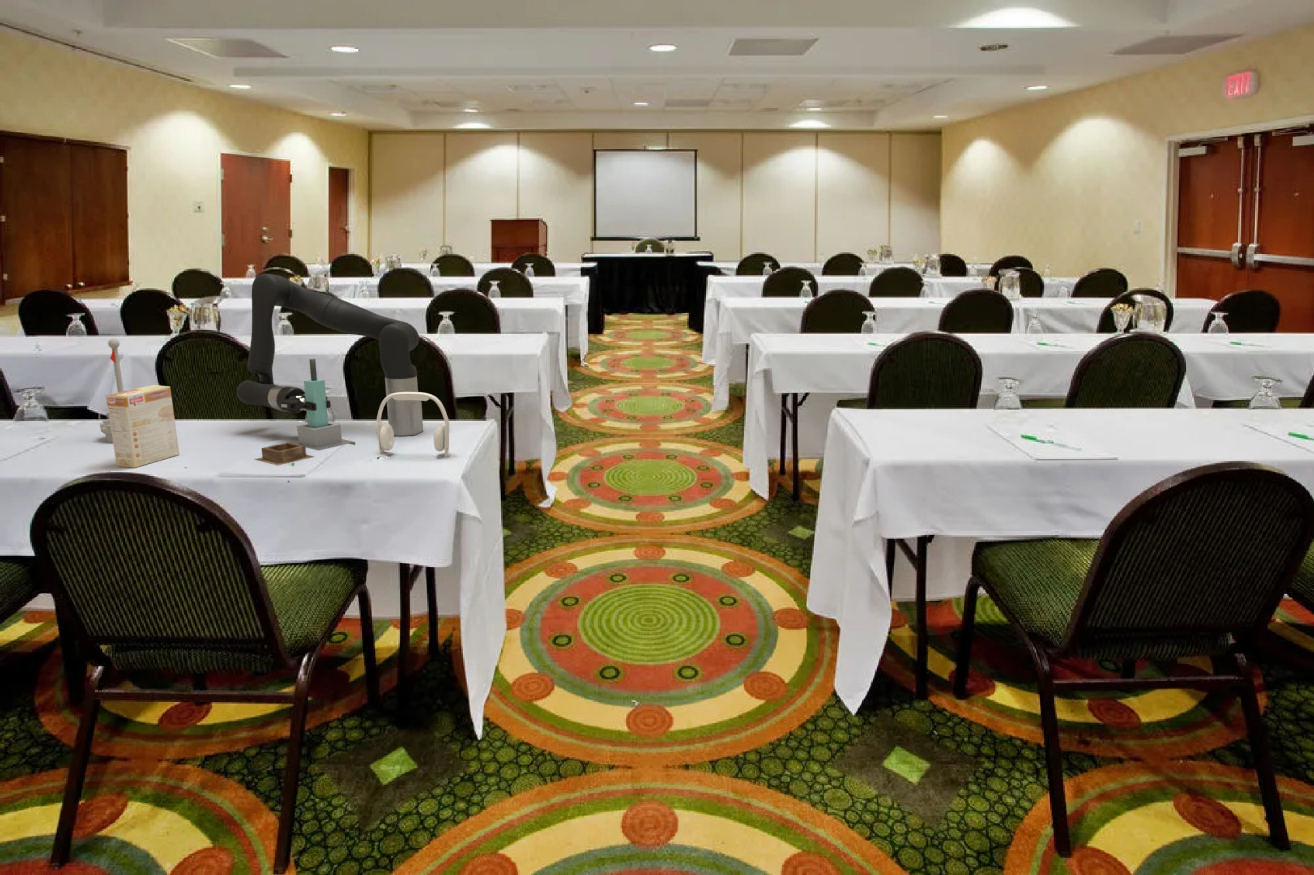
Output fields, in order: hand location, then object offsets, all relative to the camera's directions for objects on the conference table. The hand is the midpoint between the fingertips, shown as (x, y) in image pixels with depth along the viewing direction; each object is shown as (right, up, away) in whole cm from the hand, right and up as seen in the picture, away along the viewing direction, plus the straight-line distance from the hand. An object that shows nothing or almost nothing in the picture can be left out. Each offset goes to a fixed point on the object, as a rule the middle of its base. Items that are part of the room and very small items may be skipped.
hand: (322, 405), depth 271 cm
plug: (-2, -8, +4) cm, 9 cm away
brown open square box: (-6, -16, -13) cm, 21 cm away
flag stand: (-64, -9, +16) cm, 67 cm away
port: (-2, -11, +4) cm, 12 cm away
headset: (+28, -14, -8) cm, 32 cm away
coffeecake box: (-44, -15, -10) cm, 48 cm away
